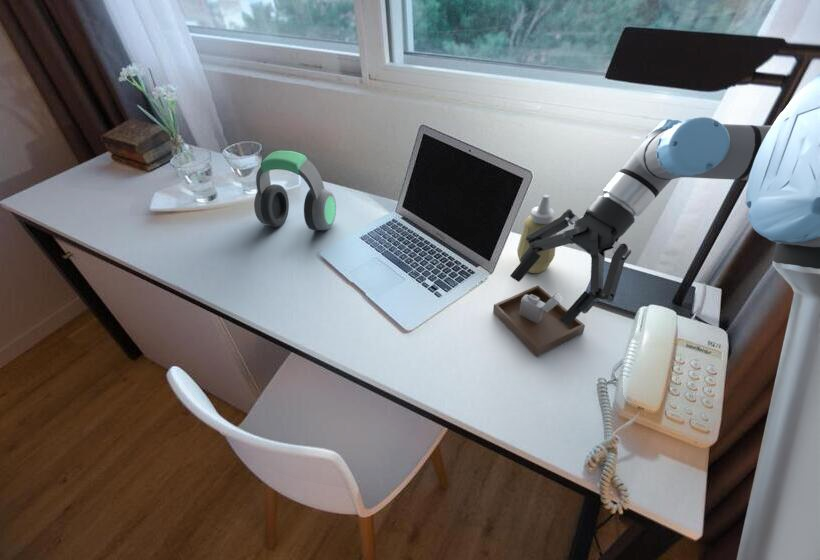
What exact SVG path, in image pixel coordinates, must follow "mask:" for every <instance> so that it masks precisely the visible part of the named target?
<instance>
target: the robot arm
mask: <svg viewBox="0 0 820 560" xmlns="http://www.w3.org/2000/svg"><path fill="white" fill-rule="evenodd" d="M680 178H681V179H682V178H691V179H712V180H713V179H714V180H733V181H734V180H735V181H747V185H746V190H745V191H746V192H745V205H746V207H747V208H748V209H749V210H748V212H747V219H748V222H749V224H750V225H751V227H752V228H753V230H754V231H755V232H756V233H758V234H759V235H760V236H762V237H763V238H766V239H767V240H769V241H771V242H773V243H776V244H775V247H774V248H775V249H774V254H773V259H772V267H773V268H774V269H775V270H776V272H778V274H779V275H780V276H781V277H782V278H783V279H784V280H785V281H786V282H787V284H789V286H790V288H791V289H792V291H793V296H792V301H791V307H790V310H789V315H788V319H787V325H786V328H785V332H784V333H785V334H784V338H783V344H782V346H781V352H780V357H779V361H778V365H777V371H776V374H775V375H776V376H775V379H774V384H773V390H772V394H771V399H770V403H769V407H768V413H767V417H766V421H765V425H764V431H763V436H762V440H761V445H760V449H759V454H758V459H757V463H756V468H755V471H754V478H753V481H752V486H751V490H750V496H749V499H748V505H747V510H746V514H745V519H744V524H743V528H742V533H741V538H740V543H739V546H738V551H737V555H736V560H820V73H818V74H817V75H816V76H815V77H814V78H812V79H811V80H810V81H809V82H808V83H806V85H804V86H803V87H802V88H801V89H800V90H799V91H798V92H797V93H796V94H795V95H794V96H793V98H791V100H790V101H789V103H788V104H787V105H786V106H785V108H784V109H783V110H782V111H781V112H780V113H779V114H778V116H777V117H776V119H775V120H774V122H773V123H772V125H754V124H732V123H731V124H728V123H721V122H720V121H718V120H716V119H715V118H711V117H705V116H700V117H693V118H689V119H685V120H683V121H681V120H679V119H672V118H671V119H670V118H668V119H663V120H662V121H661V122H660V123H659V124H658V125H657V126H656V127H655V128H654V129H653V130H652V131H651V132H649V133H648V135H647V136H646V137H645V140H644V141H642V143H641V144H640V145H639V147H638V148H637V149H636V150H635V152H634V153H633V154H632V155H631V156H630V158H629V159H628V160H627V161H626V163H625V164H624V165H623V166H622V167H621V168H620V169H619V171H618V172H616V174H615V175H614V176H613V177H612V179H611V180H610V181H609V182H608V183H607V184H606V186H605V187H604V188H603V189H602V191H601V193H602V195H597V196H596V198H595V199H594V200H593V201H592V203H590V205H589V206H588V207H587V208H586V210H585V212H584V214H583V215H582V216H580V217H578V215H577V214H576V213H575V212H574V211H573V210H572V209H570V208H569V209H567V210H566V211H564V212H563V213H562V214H561V216H560V217H558V218H555V220H554V221H552V222H551V223H549V224H547V225H545V226H544V227H542V228H540V229H538V230H536V231H535V232H533V233H531V234H529V235H528V236H527V237H526V240H527V241H528V243H529V248H528V250H527V251H526V252H525V253H524V254H523V256H522V257H521V258H520V261H521V263H520V261H519V264H518V266H516V268H515V269H514V270H513V272H512V273H511V274H510V275H509V277H511V278H512V279H513V280H514V281H516V282H518V283H519V282H521V280H522V279H523V278H524V277H525V276H526V275H527V274H528V273H529V272H528V271H529V270H530V268H531V267H532V266H533V265H534V264H535V262H536V261H537V260H538V259H539V258H540V255H539V254H540V253H539V252H541V251H545V250H548V249H552V248H555V249H556V248H558V247H562V246H565V245H573V244H574V245H576V246H577V247H579V248H580V249H582V250H584V251H585V253H587V254H588V255H590V257H591V258H590V259H591V260H590V261H591V263H590V287H589V289H590V290H589V291H586V290H584V291H583V292H582V293H581V294H580V296H579V297H578V298H577V299H576V300H575V301H574V302H573V304H572V305H571V306H569V308H568V309H566V310H567V312H566V313H565V314H564V315H563V316H562V317H561V318H560V319H559V320H560V321H561V322H563V323H565V324H566V325H568V326H569V325H570V324H571V323H572V322H573V320H574V319H575V318H578V316H579V315H580V314H581V313H582V314H587V313H589V311H590V310H591V309H592V308H593V307H594V306H595V305H596V304H597V302H599V301H603V302H606V303H608V304H611V303H613V302H614V301H615V296H616V293H617V290H618V286H619V282H620V280H621V276H622V273H623V268H624V266H625V262H626V260H627V259H628V258H629V256H630V255H631V253H632V249H631V248H630V247H629V246H628V244H626V243H621V242H618V241H619V239H620V238H621V237H623V236H624V235H625V233H626V232H627V231H628V230H629V229H630V228H631V226H633V224H634V223H635V222H636V221H635V220H636V218H637V217H640V216H641V215H642V214H643V213H644V211H646V210H647V208H648V207H649V206H650V205H651V204H652V203H653V202H654V200H655V199H656V198H657V197H658V196H659V194H660V193H661V192H662V191H663V190H664V189H665V188H666V187H667V186H668V185H669V183H671V181H672V180H675V179H680ZM635 217H636V218H635ZM573 225H574V226H573ZM570 226H573V228H571V229H568V230H566V229H567V228H568V227H570ZM563 230H565V231H563ZM561 231H563V232H562V233H559V232H561ZM556 233H557V234H556ZM558 233H559V234H558ZM554 234H556V236H552V235H554ZM550 236H552V237H550ZM548 237H549V238H548ZM612 249H613V250H612ZM609 250H612V254H613V255H612V257H611V260H610V264H609V267H608V270H607V274H606V278H605V280H604V267H605V266H604V264H605V263H604V262H605V261H606V252H607V251H609ZM537 253H538V254H537Z"/></svg>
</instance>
